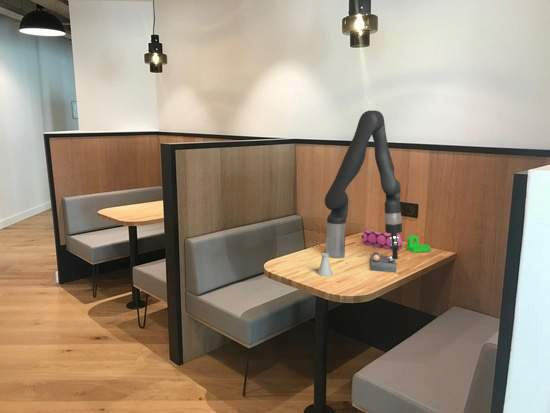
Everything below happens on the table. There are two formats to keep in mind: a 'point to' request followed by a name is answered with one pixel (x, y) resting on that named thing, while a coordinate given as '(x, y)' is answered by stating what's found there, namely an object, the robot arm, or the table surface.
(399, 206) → the robot arm
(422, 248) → the mechanical part
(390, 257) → the steel ball
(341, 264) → the table surface
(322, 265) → the flask
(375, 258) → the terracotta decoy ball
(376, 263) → the grey ball holder tray
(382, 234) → the pencil case
